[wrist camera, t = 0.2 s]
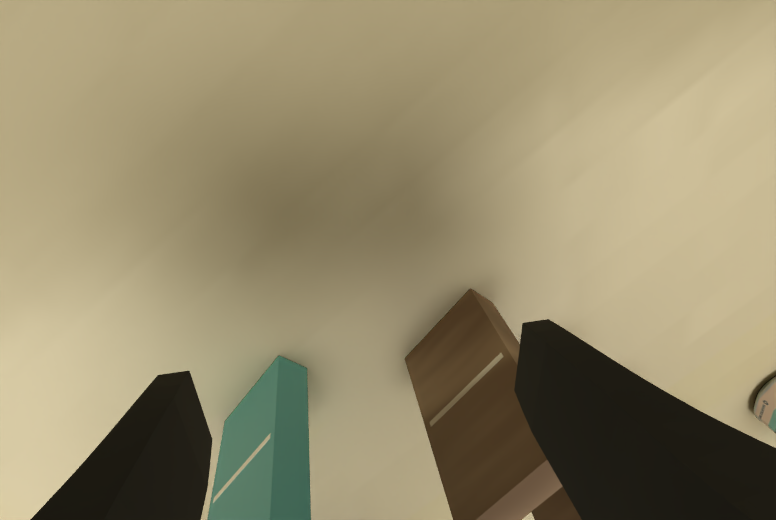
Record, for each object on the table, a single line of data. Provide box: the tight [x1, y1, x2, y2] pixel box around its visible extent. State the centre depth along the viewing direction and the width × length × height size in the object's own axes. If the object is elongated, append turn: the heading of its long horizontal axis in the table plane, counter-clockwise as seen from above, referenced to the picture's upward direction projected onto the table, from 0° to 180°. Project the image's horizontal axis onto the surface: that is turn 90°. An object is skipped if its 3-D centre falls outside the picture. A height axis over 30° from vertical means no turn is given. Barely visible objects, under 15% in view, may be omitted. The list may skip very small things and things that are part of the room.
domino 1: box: [208, 356, 311, 520], centre depth 19 cm, size 2×5×9 cm, turn 141°
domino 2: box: [405, 289, 562, 520], centre depth 19 cm, size 2×5×9 cm, turn 141°
